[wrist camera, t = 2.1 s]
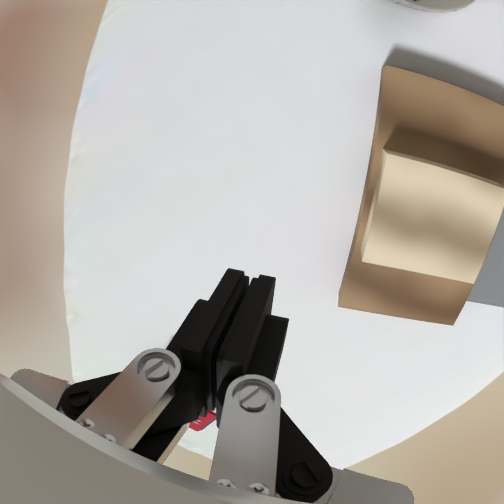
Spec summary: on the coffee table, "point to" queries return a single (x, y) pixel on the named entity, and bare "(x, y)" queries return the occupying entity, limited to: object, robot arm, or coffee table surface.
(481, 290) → the rubber mat
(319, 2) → the coffee table surface
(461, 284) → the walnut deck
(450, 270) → the oak tile
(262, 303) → the robot arm
